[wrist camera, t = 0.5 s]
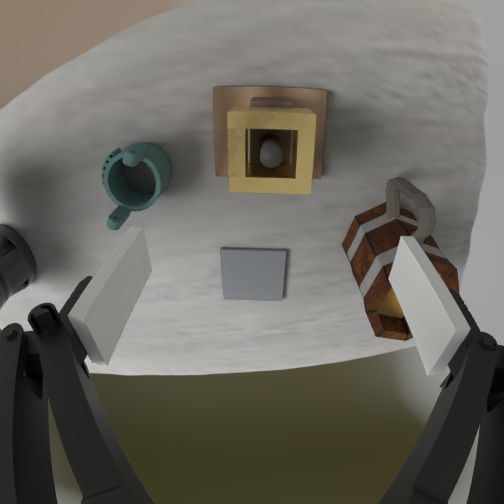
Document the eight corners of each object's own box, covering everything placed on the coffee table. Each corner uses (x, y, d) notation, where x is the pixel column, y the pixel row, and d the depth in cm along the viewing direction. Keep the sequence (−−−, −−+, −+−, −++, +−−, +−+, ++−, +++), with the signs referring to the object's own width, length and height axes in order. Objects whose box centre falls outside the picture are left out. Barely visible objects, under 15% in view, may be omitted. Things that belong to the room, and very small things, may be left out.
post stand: (217, 173, 41) (198, 215, 30) (214, 86, 35) (190, 93, 24) (319, 175, 41) (339, 219, 30) (325, 89, 34) (353, 97, 23)
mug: (412, 271, 49) (446, 332, 36) (340, 279, 50) (359, 348, 38) (427, 162, 38) (484, 206, 26) (341, 164, 40) (376, 212, 27)
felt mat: (224, 296, 53) (223, 299, 53) (220, 247, 48) (220, 249, 47) (282, 298, 53) (282, 300, 52) (286, 249, 47) (286, 251, 47)
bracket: (159, 131, 38) (133, 147, 31) (180, 191, 43) (161, 219, 35) (107, 151, 40) (75, 171, 32) (129, 205, 44) (103, 234, 37)
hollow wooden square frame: (233, 176, 34) (229, 192, 30) (232, 106, 30) (227, 112, 26) (304, 178, 34) (310, 194, 30) (308, 108, 30) (316, 114, 25)
